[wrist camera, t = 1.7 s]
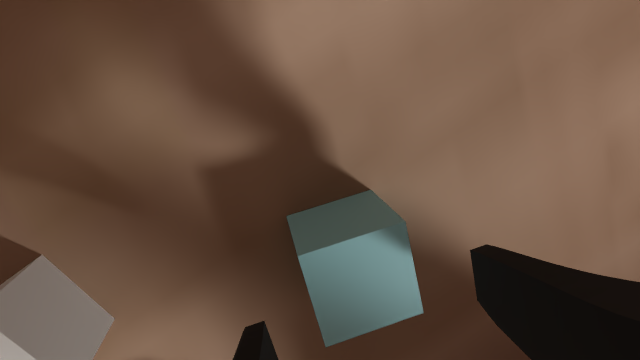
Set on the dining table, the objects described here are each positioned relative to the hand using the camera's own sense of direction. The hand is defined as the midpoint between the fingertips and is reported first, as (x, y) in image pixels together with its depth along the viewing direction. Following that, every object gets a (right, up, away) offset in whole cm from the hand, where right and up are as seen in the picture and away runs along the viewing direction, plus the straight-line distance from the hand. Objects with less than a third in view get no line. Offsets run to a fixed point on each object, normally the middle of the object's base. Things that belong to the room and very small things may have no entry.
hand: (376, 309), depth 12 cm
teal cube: (-1, +1, +5) cm, 6 cm away
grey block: (-14, -1, +4) cm, 14 cm away
